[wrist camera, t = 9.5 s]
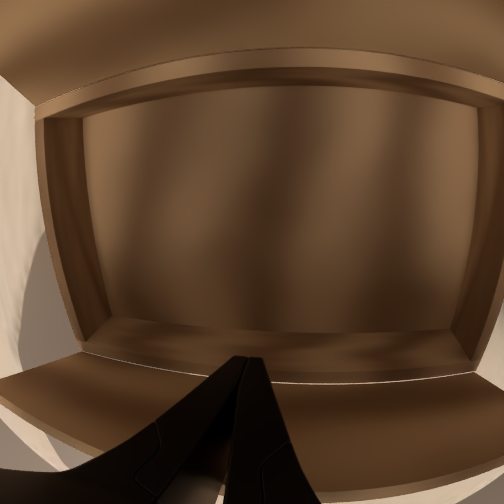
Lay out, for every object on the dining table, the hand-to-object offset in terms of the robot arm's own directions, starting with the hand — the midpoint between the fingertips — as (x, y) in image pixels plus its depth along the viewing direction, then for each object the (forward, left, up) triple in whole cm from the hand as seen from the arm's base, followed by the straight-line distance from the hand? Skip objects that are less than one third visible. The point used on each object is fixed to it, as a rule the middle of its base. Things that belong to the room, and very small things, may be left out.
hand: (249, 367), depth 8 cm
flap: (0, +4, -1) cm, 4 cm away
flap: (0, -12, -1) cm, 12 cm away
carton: (0, -2, -8) cm, 9 cm away
